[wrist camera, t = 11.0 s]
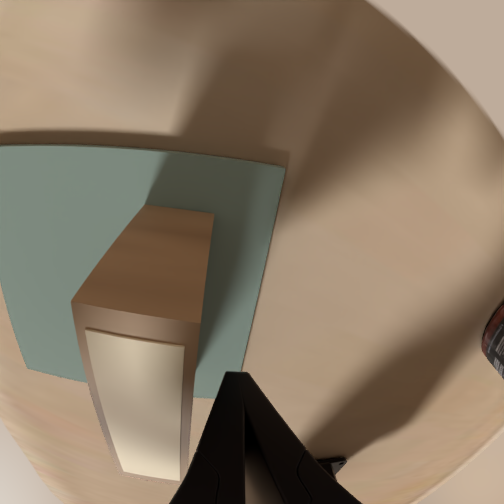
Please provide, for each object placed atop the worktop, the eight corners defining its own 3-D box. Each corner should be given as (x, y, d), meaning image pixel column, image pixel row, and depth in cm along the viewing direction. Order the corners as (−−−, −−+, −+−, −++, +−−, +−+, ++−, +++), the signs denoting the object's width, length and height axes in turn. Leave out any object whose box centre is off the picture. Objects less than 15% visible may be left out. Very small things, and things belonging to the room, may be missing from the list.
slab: (194, 373, 14) (186, 486, 9) (143, 366, 14) (119, 475, 8) (214, 213, 11) (200, 325, 5) (144, 204, 10) (69, 302, 5)
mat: (233, 392, 16) (233, 399, 15) (30, 362, 14) (27, 368, 13) (282, 166, 11) (285, 168, 11) (-8, 145, 9) (-15, 147, 8)
